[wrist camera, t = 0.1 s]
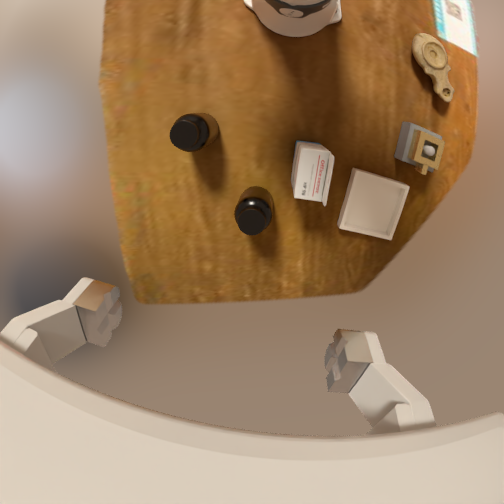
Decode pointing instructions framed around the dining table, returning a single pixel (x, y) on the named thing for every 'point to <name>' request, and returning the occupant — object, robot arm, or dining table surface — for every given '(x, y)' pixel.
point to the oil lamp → (433, 63)
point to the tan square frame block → (417, 148)
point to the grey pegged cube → (406, 140)
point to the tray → (372, 204)
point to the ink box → (311, 171)
